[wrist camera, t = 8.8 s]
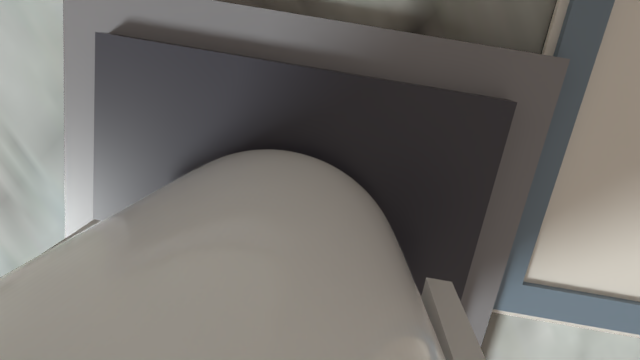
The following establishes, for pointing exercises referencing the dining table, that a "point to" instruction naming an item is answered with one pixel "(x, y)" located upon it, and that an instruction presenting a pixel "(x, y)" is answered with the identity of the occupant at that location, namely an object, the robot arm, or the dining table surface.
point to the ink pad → (312, 120)
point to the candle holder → (226, 274)
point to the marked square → (585, 181)
